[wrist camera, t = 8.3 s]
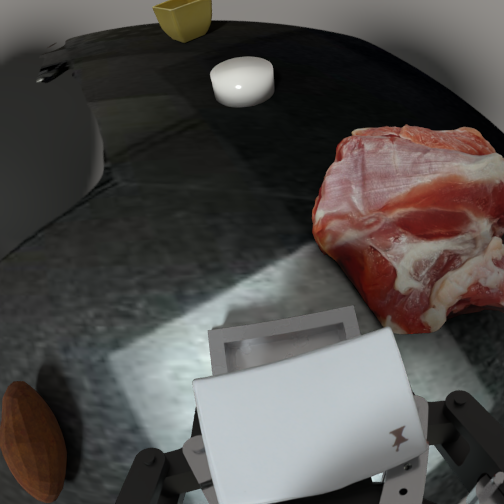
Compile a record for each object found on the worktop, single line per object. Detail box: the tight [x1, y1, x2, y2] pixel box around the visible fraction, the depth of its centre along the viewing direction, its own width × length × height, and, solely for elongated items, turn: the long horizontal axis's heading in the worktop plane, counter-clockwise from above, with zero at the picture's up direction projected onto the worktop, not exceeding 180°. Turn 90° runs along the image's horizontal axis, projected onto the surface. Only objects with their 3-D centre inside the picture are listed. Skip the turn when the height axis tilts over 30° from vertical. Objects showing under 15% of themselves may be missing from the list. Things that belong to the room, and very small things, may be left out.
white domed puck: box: [210, 57, 274, 107], centre depth 36 cm, size 8×8×4 cm
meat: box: [312, 124, 504, 334], centre depth 21 cm, size 21×21×10 cm
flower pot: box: [152, 0, 212, 43], centre depth 45 cm, size 9×9×9 cm
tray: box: [208, 305, 361, 376], centre depth 19 cm, size 11×13×3 cm
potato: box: [0, 381, 67, 503], centre depth 16 cm, size 6×12×6 cm, turn 21°
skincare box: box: [192, 327, 428, 504], centre depth 12 cm, size 6×4×12 cm
